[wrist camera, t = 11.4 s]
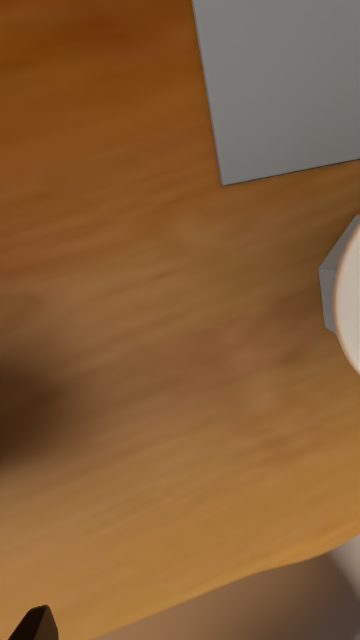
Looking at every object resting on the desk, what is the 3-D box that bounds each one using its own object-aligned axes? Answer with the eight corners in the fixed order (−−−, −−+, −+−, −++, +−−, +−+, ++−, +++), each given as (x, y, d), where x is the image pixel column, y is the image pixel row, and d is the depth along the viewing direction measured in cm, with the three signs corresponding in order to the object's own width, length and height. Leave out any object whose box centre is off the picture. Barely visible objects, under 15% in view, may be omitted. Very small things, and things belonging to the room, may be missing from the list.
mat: (221, 186, 19) (223, 185, 19) (166, -153, 16) (167, -162, 15) (471, 136, 20) (478, 134, 19) (468, -194, 17) (475, -205, 16)
